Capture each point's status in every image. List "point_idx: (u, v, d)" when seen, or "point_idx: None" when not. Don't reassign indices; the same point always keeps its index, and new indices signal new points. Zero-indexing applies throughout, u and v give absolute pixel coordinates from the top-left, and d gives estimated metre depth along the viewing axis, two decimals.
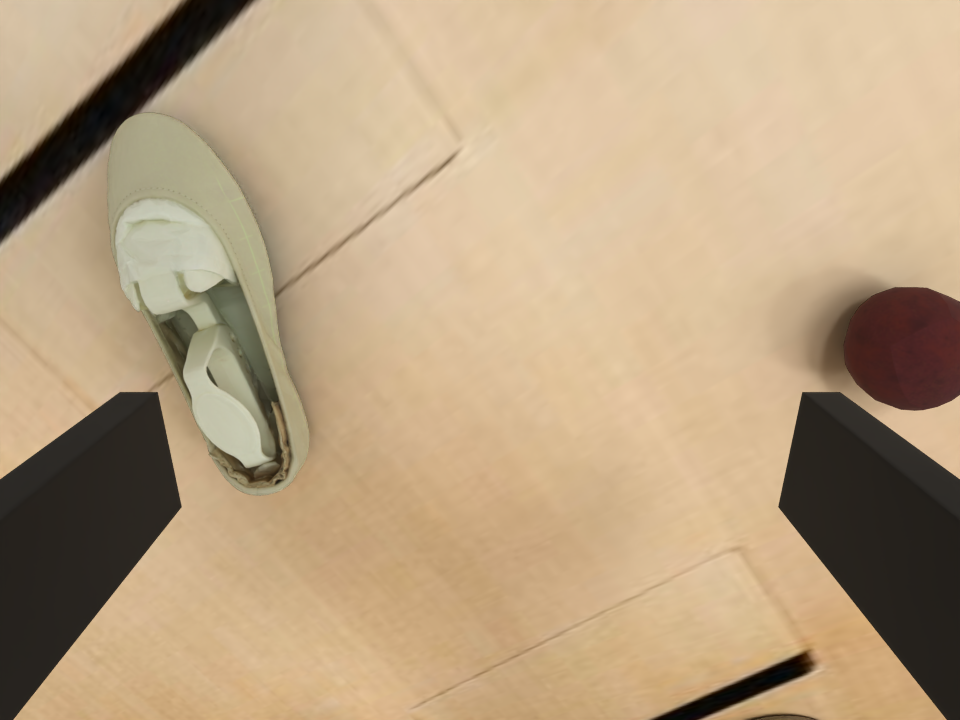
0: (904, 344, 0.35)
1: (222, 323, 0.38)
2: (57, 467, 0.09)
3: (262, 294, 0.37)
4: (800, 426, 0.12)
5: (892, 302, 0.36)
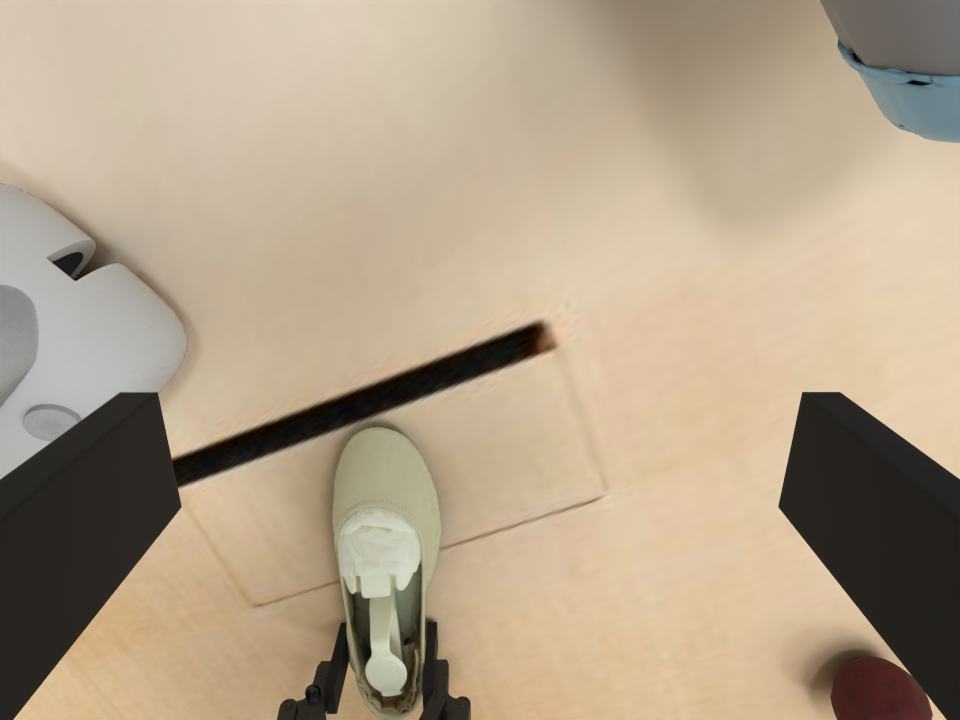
0: (880, 719, 0.48)
1: None
2: (57, 467, 0.09)
3: (430, 569, 0.47)
4: (800, 426, 0.12)
5: (877, 680, 0.50)
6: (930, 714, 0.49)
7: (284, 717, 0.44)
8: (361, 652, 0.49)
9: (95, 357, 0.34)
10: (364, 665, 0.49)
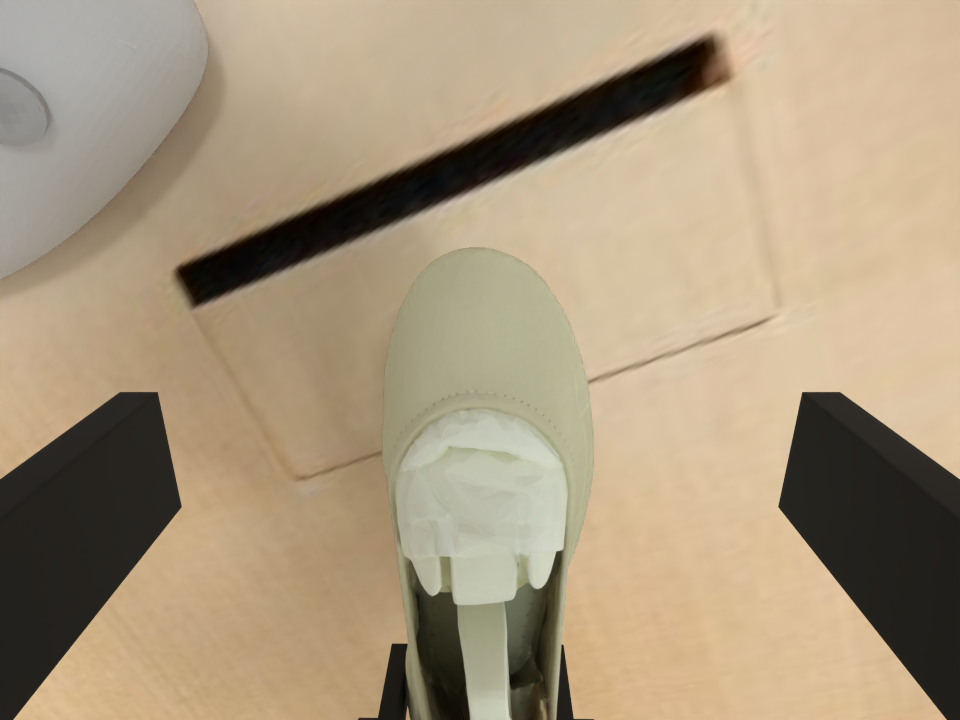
0: None
1: None
2: (57, 467, 0.09)
3: (572, 545, 0.24)
4: (800, 426, 0.12)
5: None
6: None
7: None
8: (434, 702, 0.26)
9: None
10: None
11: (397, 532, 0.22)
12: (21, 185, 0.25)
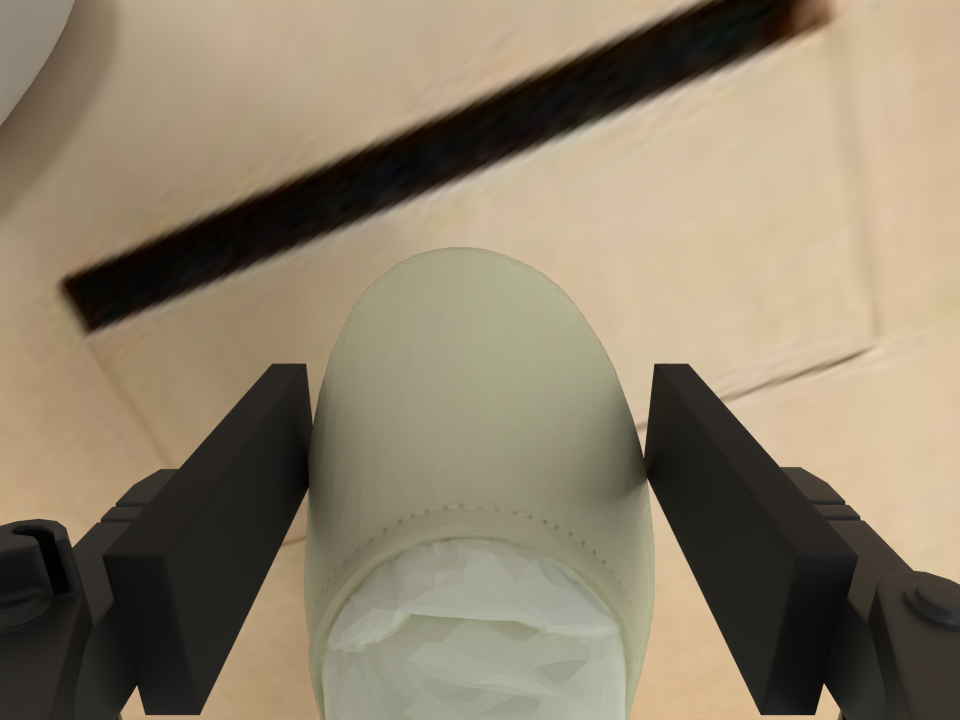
0: None
1: None
2: (256, 421, 0.11)
3: None
4: (653, 394, 0.14)
5: None
6: None
7: None
8: None
9: None
10: None
11: None
12: None
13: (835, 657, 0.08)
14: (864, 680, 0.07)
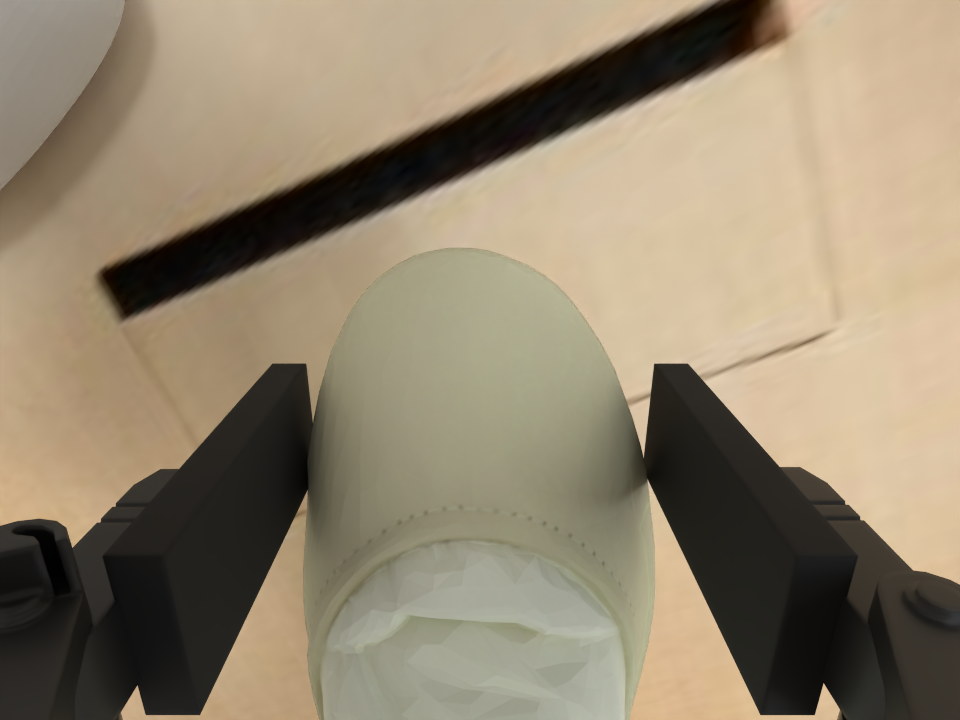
0: None
1: None
2: (256, 421, 0.11)
3: None
4: (653, 394, 0.14)
5: None
6: None
7: None
8: None
9: None
10: None
11: None
12: None
13: (835, 657, 0.08)
14: (864, 680, 0.07)
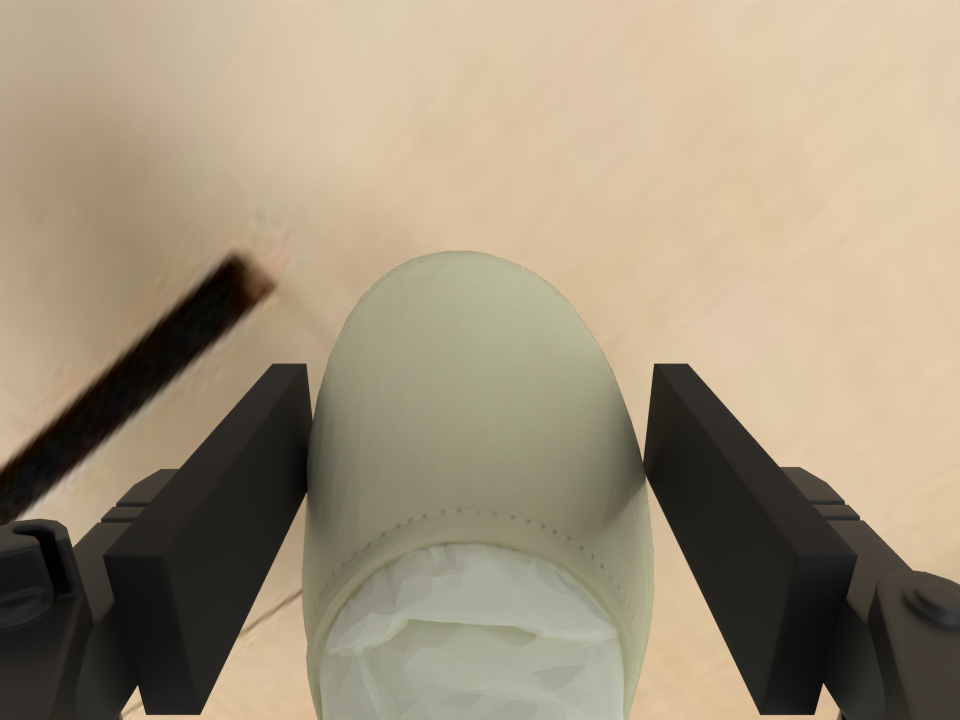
0: None
1: None
2: (256, 421, 0.11)
3: None
4: (653, 394, 0.14)
5: None
6: None
7: None
8: None
9: None
10: None
11: None
12: None
13: (835, 657, 0.08)
14: (864, 680, 0.07)
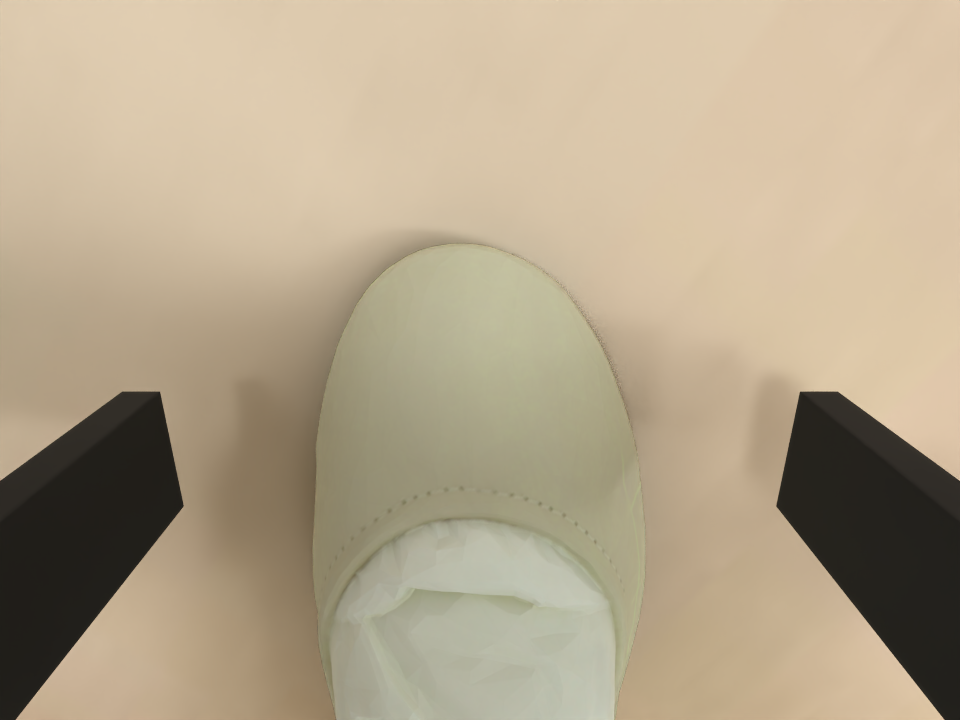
0: None
1: None
2: (60, 466, 0.09)
3: None
4: (798, 425, 0.12)
5: None
6: None
7: None
8: None
9: None
10: None
11: None
12: None
13: None
14: None
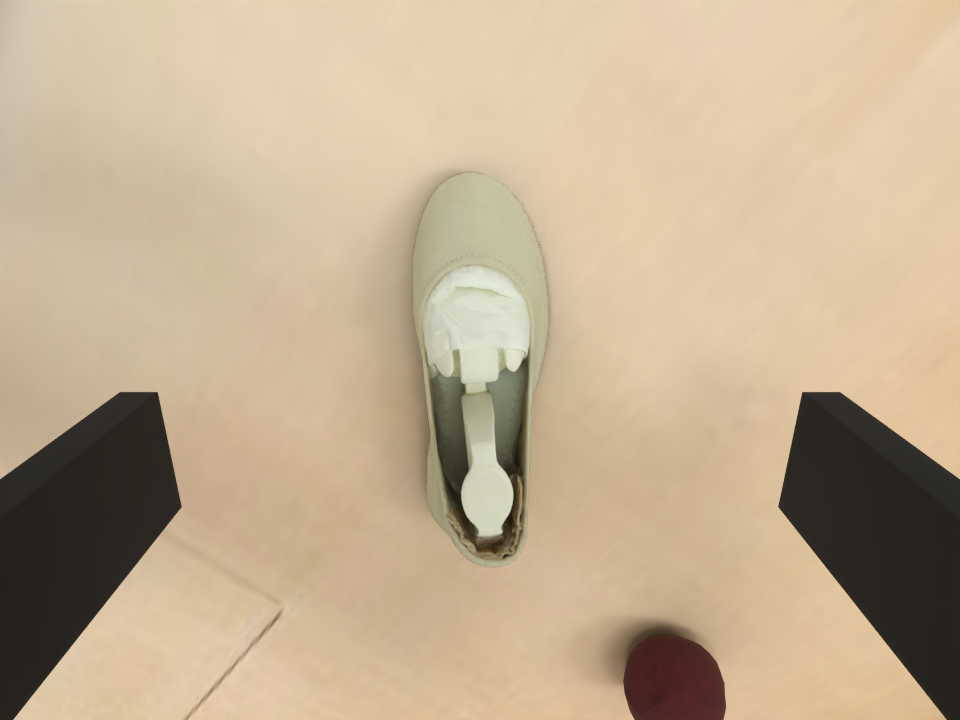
0: (649, 716, 0.43)
1: (487, 389, 0.37)
2: (57, 467, 0.09)
3: (536, 370, 0.37)
4: (800, 426, 0.12)
5: (639, 672, 0.44)
6: (709, 686, 0.43)
7: None
8: (447, 487, 0.39)
9: None
10: (452, 502, 0.38)
11: (424, 353, 0.35)
12: None
13: None
14: None
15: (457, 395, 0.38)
